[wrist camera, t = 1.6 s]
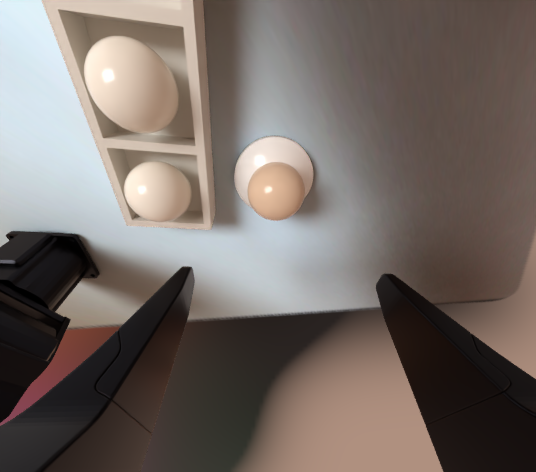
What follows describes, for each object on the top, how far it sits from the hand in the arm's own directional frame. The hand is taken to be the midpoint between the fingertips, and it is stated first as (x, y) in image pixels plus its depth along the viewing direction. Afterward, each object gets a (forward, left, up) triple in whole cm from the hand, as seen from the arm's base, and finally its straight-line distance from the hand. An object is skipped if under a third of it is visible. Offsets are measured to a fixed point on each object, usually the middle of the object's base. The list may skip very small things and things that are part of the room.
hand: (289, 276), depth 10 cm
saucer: (0, 0, -12) cm, 12 cm away
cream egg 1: (+6, +9, -11) cm, 15 cm away
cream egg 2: (-1, +9, -11) cm, 14 cm away
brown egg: (0, 0, -11) cm, 11 cm away
